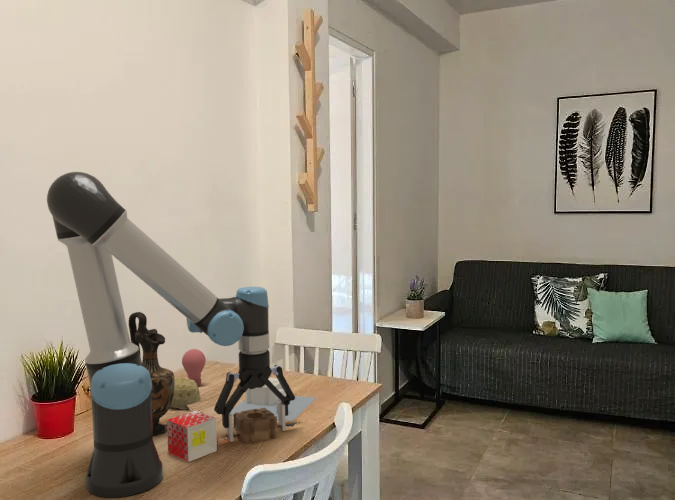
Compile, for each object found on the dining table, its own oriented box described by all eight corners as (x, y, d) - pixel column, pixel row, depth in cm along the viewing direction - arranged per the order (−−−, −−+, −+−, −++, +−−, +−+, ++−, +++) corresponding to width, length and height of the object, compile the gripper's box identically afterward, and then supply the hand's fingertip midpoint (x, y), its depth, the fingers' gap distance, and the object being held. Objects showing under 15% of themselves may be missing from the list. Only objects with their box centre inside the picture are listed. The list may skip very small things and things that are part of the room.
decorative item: (201, 416, 177) (206, 383, 183) (192, 405, 169) (197, 371, 174) (169, 416, 178) (175, 383, 183) (158, 405, 170) (164, 371, 175)
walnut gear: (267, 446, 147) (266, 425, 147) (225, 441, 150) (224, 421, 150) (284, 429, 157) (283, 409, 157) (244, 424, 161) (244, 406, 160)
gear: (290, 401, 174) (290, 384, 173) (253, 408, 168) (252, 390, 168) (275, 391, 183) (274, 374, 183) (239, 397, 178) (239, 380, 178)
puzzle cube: (188, 462, 139) (187, 427, 138) (168, 452, 144) (166, 419, 143) (217, 450, 145) (216, 417, 144) (196, 442, 150) (195, 410, 149)
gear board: (292, 426, 159) (292, 398, 158) (225, 419, 164) (224, 392, 164) (316, 402, 177) (316, 377, 176) (255, 397, 183) (254, 372, 182)
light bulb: (180, 385, 194) (179, 348, 193) (203, 382, 197) (202, 345, 196) (185, 392, 188) (184, 353, 186) (208, 389, 190) (207, 350, 189)
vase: (149, 442, 150) (145, 320, 147) (115, 432, 156) (111, 315, 153) (185, 427, 159) (182, 311, 157) (152, 418, 166) (148, 307, 163)
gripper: (294, 340, 161) (296, 419, 163) (199, 354, 149) (202, 439, 151) (306, 346, 154) (308, 429, 156) (208, 361, 143) (211, 450, 145)
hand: (256, 434), depth 154 cm, fingers open, 13 cm apart
